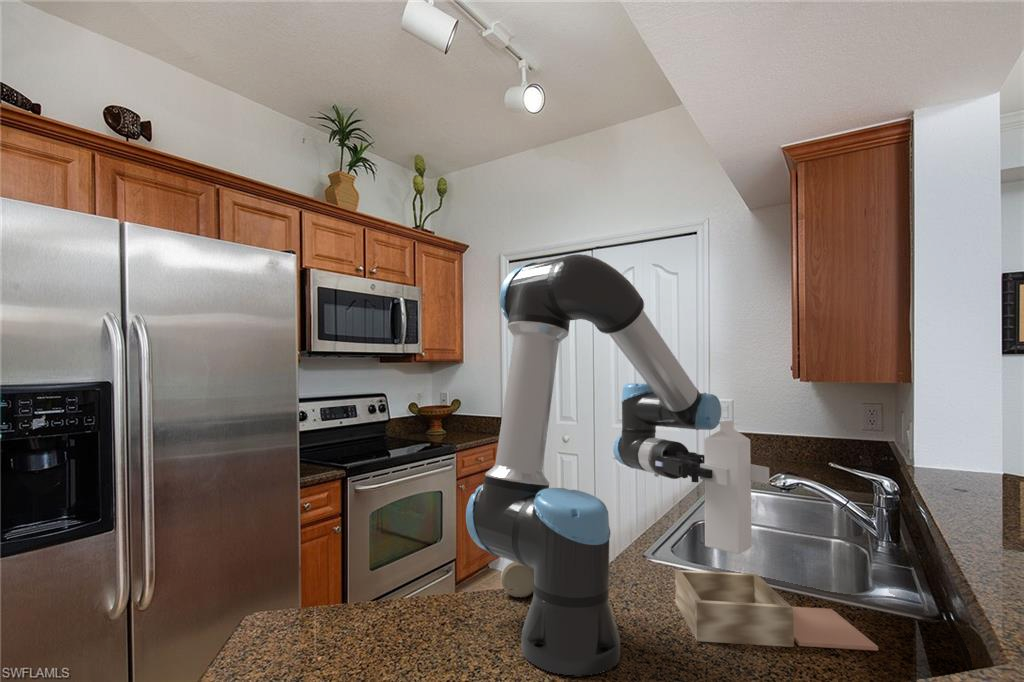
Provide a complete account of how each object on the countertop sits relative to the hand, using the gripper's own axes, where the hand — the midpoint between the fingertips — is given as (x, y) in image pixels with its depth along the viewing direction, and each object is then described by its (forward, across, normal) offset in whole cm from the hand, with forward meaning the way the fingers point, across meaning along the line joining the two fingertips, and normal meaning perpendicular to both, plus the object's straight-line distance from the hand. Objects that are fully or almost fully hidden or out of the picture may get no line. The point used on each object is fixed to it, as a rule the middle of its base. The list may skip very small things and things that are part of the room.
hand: (748, 476), depth 88 cm
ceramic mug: (-28, +29, -26) cm, 48 cm away
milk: (-5, 0, -13) cm, 14 cm away
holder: (-5, 0, -26) cm, 26 cm away
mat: (+1, -13, -26) cm, 29 cm away
